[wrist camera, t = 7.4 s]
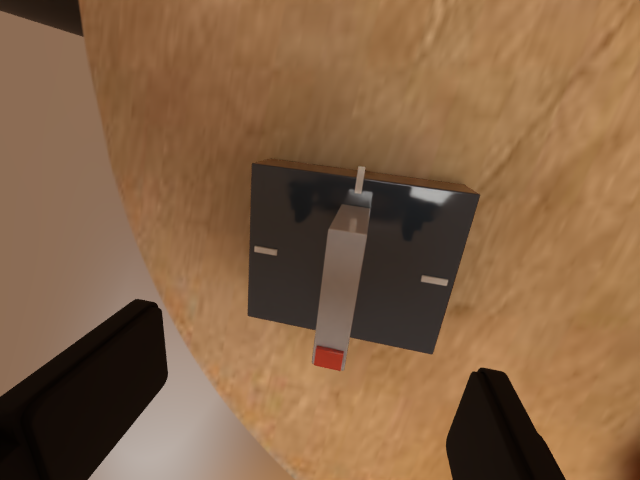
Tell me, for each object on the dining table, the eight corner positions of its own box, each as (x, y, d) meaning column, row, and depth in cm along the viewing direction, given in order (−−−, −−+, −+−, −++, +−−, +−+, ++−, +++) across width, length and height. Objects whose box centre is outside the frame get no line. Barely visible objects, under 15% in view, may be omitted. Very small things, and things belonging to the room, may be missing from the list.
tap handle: (341, 203, 17) (327, 230, 12) (370, 208, 16) (367, 236, 12) (326, 313, 19) (310, 368, 15) (352, 318, 19) (343, 375, 14)
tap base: (262, 300, 23) (245, 325, 20) (270, 148, 19) (250, 151, 16) (424, 333, 22) (430, 364, 19) (468, 174, 18) (485, 182, 15)
